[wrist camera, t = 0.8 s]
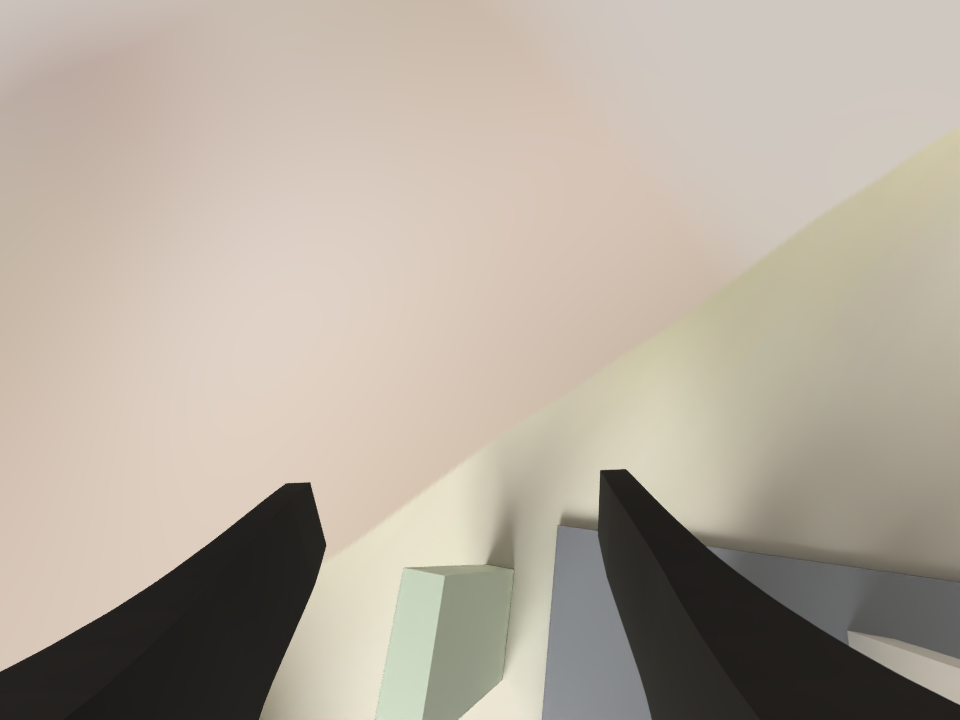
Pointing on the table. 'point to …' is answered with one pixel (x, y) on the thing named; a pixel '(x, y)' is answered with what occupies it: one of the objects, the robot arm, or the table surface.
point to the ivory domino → (912, 663)
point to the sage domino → (445, 641)
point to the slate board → (793, 582)
